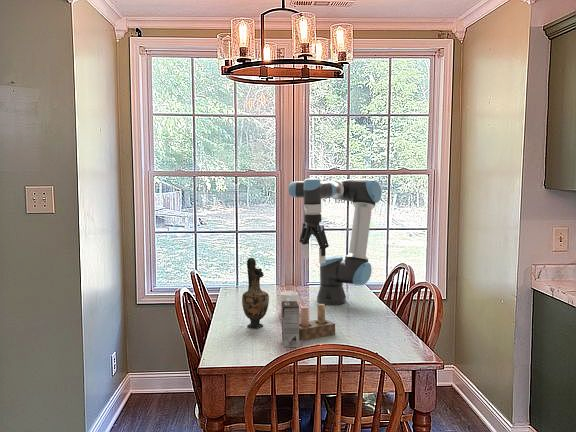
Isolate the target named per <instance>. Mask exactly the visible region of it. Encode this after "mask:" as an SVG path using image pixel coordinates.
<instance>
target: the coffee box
mask: <svg viewBox="0 0 576 432" xmlns="http://www.w3.org/2000/svg"><path fill="white" fill-rule="evenodd" d="M281 303H282V315H281V339H282V340H281V341H282V345H283V348H293V347H294V348H297V347H298V348H299V347H300V339H299V323H300V306H299V302H298V303H297V301H282V302H281V301H280V304H281Z"/></svg>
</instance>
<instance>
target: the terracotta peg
mask: <svg viewBox="0 0 576 432" xmlns="http://www.w3.org/2000/svg"><path fill="white" fill-rule="evenodd" d="M309 312H310V311H309V306H305V305H304V306H301V307H300V322H301V327H309V321H310V320H309V319H310V318H309V315H310V313H309Z"/></svg>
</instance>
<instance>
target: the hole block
mask: <svg viewBox="0 0 576 432" xmlns="http://www.w3.org/2000/svg"><path fill="white" fill-rule="evenodd" d="M333 334H334V335H336V323H335V322H332V321H331V320H328V319H326V318H325V324H321V325H319V324H318V319H313V320H309V327H301V321H299V340H300V341H305V340H311V339H316V338H323V337H327V336H328V335H329V336H333Z"/></svg>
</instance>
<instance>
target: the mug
mask: <svg viewBox="0 0 576 432" xmlns="http://www.w3.org/2000/svg"><path fill="white" fill-rule="evenodd" d="M279 295H280V315H281V316H282V303H281V302H282V301H297V303H298V304H299V292H297V291H290V290H287V291H281V292H280V294H279Z"/></svg>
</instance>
